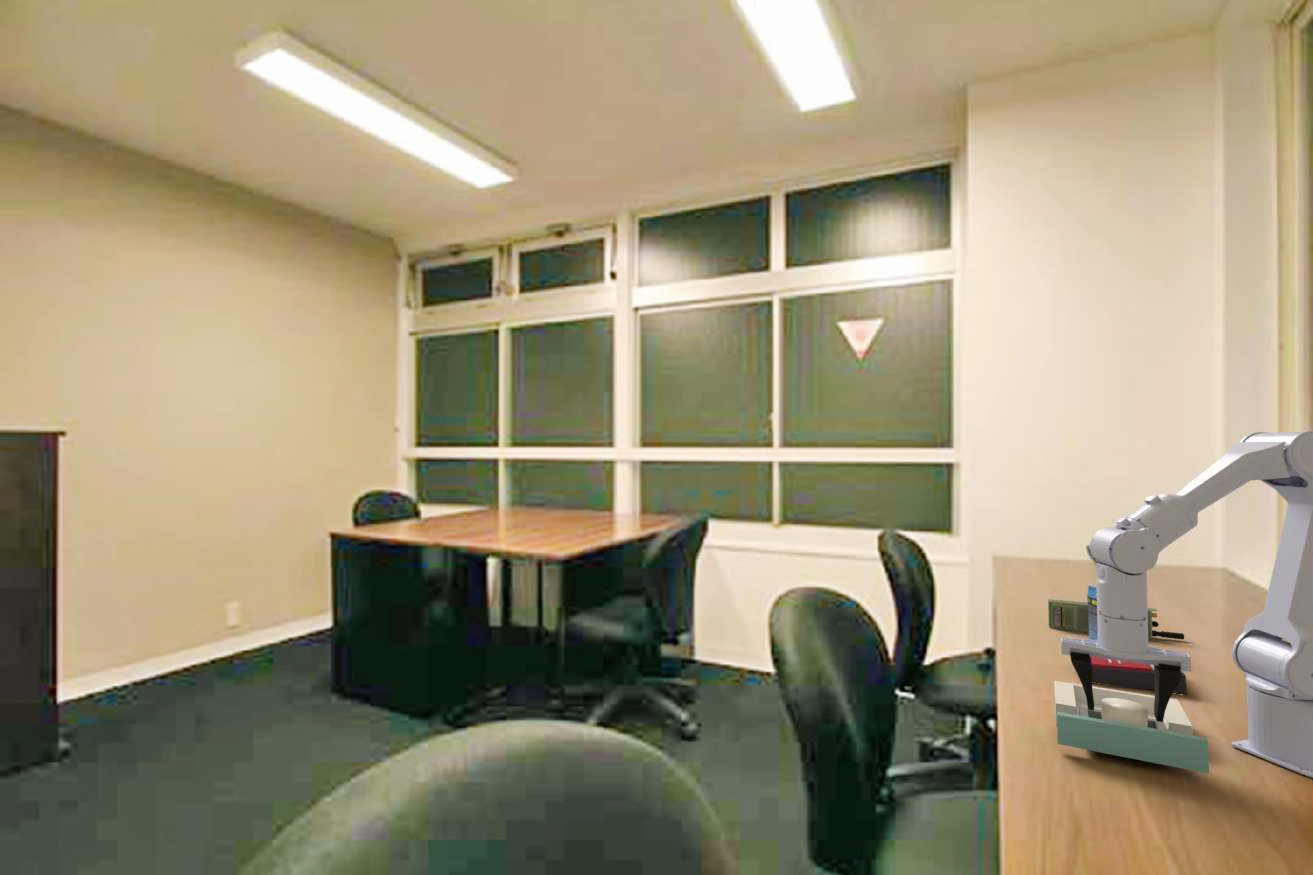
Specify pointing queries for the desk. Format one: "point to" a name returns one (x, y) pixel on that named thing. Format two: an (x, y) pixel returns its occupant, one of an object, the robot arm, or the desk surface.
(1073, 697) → the dock
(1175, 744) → the tray
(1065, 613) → the handheld radio
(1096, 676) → the calculator
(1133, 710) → the white dome-topped cylinder
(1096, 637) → the label tape box
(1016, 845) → the desk surface
